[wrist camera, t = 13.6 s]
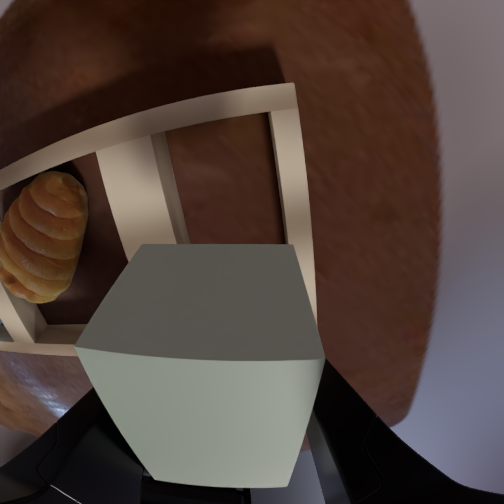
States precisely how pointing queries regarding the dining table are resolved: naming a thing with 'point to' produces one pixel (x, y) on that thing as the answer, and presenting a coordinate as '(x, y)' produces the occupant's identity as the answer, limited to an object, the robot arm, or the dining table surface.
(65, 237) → the pastry
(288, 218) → the frame
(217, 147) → the dining table surface
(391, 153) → the dining table surface
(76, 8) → the dining table surface
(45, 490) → the robot arm
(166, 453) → the block
